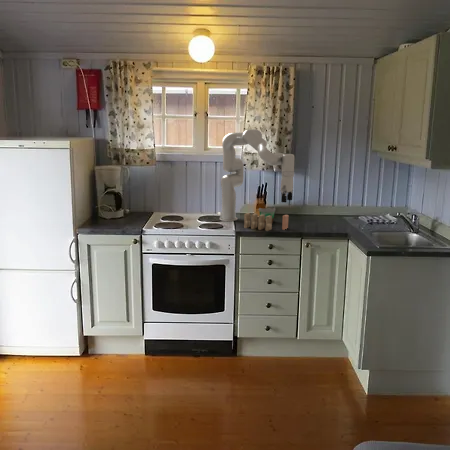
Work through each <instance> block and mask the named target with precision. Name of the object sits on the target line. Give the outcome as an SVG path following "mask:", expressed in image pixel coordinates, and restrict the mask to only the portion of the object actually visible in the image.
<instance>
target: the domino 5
mask: <svg viewBox="0 0 450 450" xmlns="http://www.w3.org/2000/svg"><path fill="white" fill-rule="evenodd" d="M289 217H290V216H289V214H284V215H282V220H281V221H282V222H281V223H282V226H281V229H282V230H283V231H285V229H286V230H287V228H288V229H289Z"/></svg>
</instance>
